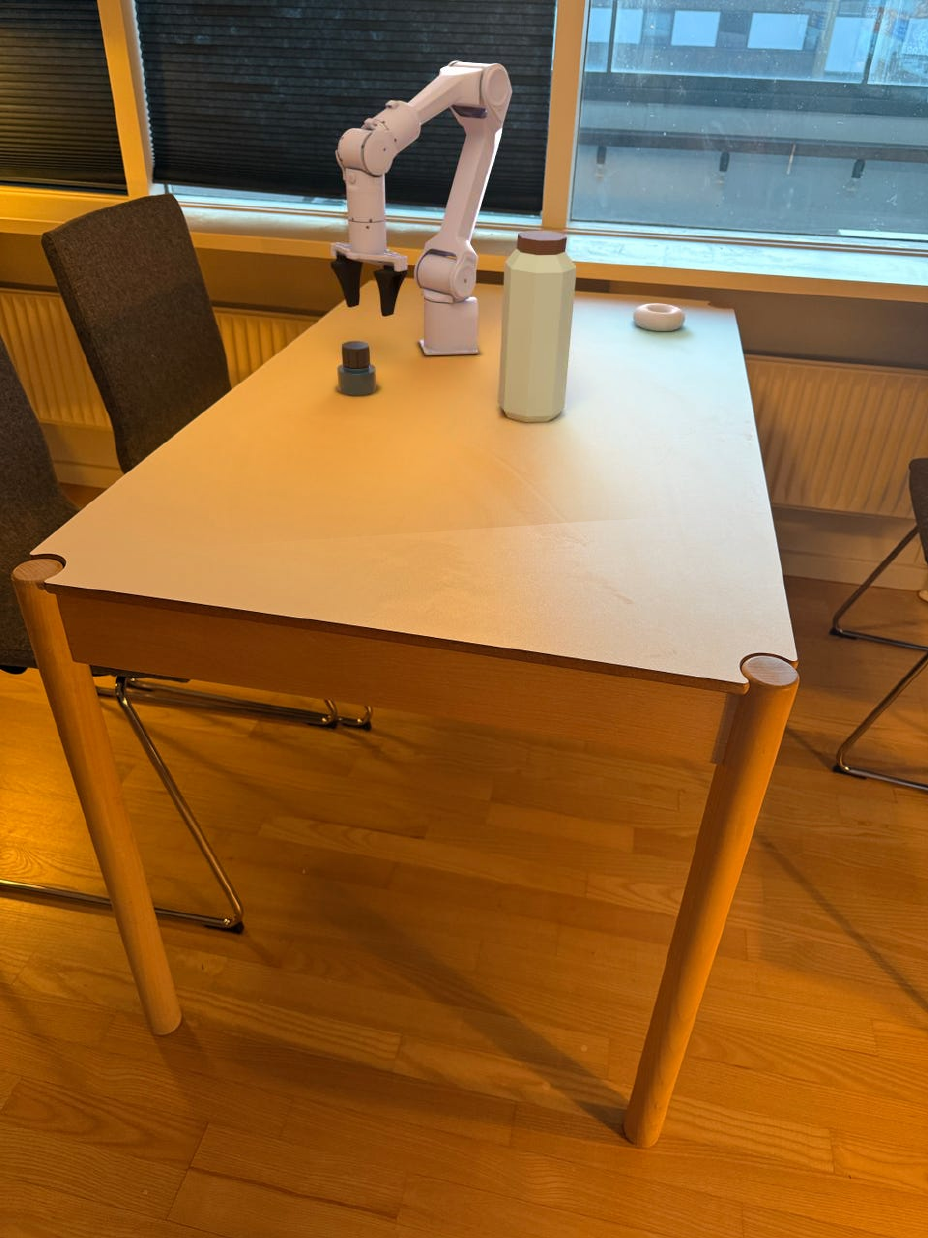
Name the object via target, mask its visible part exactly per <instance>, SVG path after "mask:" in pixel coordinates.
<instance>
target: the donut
mask: <svg viewBox="0 0 928 1238" xmlns="http://www.w3.org/2000/svg"><path fill="white" fill-rule="evenodd" d="M632 319H633V321H634V323H635V325H636V326H638V327H640V328H641V329H644V330H647V331H648V330H649V331H654V332H670V331H671V332H672V331H675V330H678V329H680V328H682V326H683V325H684V323H685V320H686V316H685V313H684V311H683V310H682V309H680V308H679V307H677V306H674V305H671V304H665V303H646V304H641V305H639V306H638V307H636V309H635V310H634V311H633V313H632Z"/></svg>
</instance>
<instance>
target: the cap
mask: <svg viewBox="0 0 928 1238" xmlns="http://www.w3.org/2000/svg"><path fill="white" fill-rule="evenodd" d="M370 351H371V349H370V344H369V343H368V342H365V341H361V340H350V341H346V342H343V343H342V344H341V359H342V360H341V361H342V362H341V363H342V364H343V366H346V367H349V368H363V367H367V366H368V365H370V364H371V352H370Z"/></svg>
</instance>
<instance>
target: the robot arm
mask: <svg viewBox="0 0 928 1238" xmlns="http://www.w3.org/2000/svg"><path fill="white" fill-rule="evenodd" d="M512 94H513V87H512V85H511V81H510V77H509V73H508V72H507V69H506V68H505V67H504V65H502V64H501V63H497V62H496V63H481V62H479V63H478V62H463V61H461V60H453V61H450V62H449V63H448V65H446V66H443V67H442V68H440V70H439V72H438V76H436V78H435V79H433V80H432V81H431V82H430V83H429V84H427V86H425V88H423V89H422V90H421V91H420V92H418V93H417V94H416V95H415V96H414V97H413V98H412V99H411V100H409V101H408V102H406V101H403V100H389V101H387V102H386V103H385V107H386V108H384V109H383V110H382V111H380V112H379V113H378V114H377V115H375V116H374V117H373V118H370V117H368V118H367V119H366V120H364V122H363V123H364V124H363V125H362V126H361V127H360V128H354V127H353V128H349V129H347V130H346V131H345V132H344V133H343V135H341V137H340V139H339V141H338V146H337V149H336V150H335V158H336V161H337V163H338V165H339V167H340V169H341V170H342V179H343V181H344V183H345V188H346V190H345V191H346V208H347V224H348V226H347V228H348V242H342V241H337V242H332V243H330V256H331V257H332V258H335V260H333V261H330V268H331V269H332V271H333V272H334V275H335V276H336V279H337V280H338V282H339V284H340V287H341V290H342V293H343V296H344V300H345V303H346V306H347V307H346V308H350V309H351V308H353V307H357V306H360V302H361V301H360V300H361V276H362V275H361V274H362V269H363V265H364V263H366V264H369V265H374V266H378V267H382V268H381V269H376V270H373V276H374V278H375V281H376V285H377V288H378V289H377V290H378V295H379V304H380V305H379V306H380V313H381V317H385V318H386V317H389V316H393V315H394V314H395V309H396V304H397V300H398V296H399V292H400V290H401V287H402V285H403V283H404V281H405V279H406V277H407V275H408V256H407V255H404V254H402V253H401V254H400V253H398V252H396V251H393V250H391V249H389V248H387V220H386V218H387V217H386V183H385V182H386V181H385V179H386V178H385V174H387V173H388V172H389V170H390V168H391V167H392V164H393V162H394V161H393V160H394V158H395V157H396V156H397V155H398V154H399V153H401V151H403V150H404V149H405V148H407V147H408V146H409V145H410V144H413V142H414V141H416V140H417V139H418V138H419V136H420V134H421V130H422V129H421V127H422V125H424V124H425V123H427V122H428V121H430V120H431V119H433V118H434V117H436V116H437V115H439V114H440V113H441V112H443V111H445V110H446V109H448V108H449V109H450V111H451V112H452V113H453V115H454V116H455V118H456V120H457V122H458V123H459V125H460V126H462V127H463V129H464V132H465V135H466V136H465V140H464V143H463V145H462V150H461V153H460V157H459V160H458V164H457V168H456V171H455V175H454V178H453V182H452V186H451V189H450V192H449V196H448V200H447V203H446V207H445V209H444V214H443V218H442V221H441V225H440V229H439V232H438V233H437V234H436V235H434V236H432V237H431V238H430V239H429V240H427V241H426V242H425V244H424V247H423V250H422V252H421V255H420V256H419V257H418V258H417V260H416V262H415V265H414V269H413V278H414V282H415V284H416V286H417V287H418V289H420V295H421V296H423V338H422V339H419V341H418V342H419V344H420V347H421V349H422V352H423V354H424V355H425V356H445V355H446V356H450V355H475V354H476V355H477V354H479V350H478V348H479V347H478V346H479V314H480V313H479V304H478V299H477V297H475V296H470V295H472V293H473V291H474V289H475V286H476V282H477V267H478V262H479V260H480V259H479V256H478V254H477V253H476V251H475V250H474V248H473V247H472V245H471V240H472V237H473V233H474V231H475V228H476V227H475V226H476V223H477V220H478V216H479V213H480V210H481V207H482V202H483V199H484V196H485V193H486V189H487V186H488V182H489V178H490V174H491V171H492V167H493V165H494V162H495V157H496V154H497V151H498V148H499V143H500V140H501V137H502V131H503V125H504V122H505V119H506V115H507V111H508V109H509V104H510V102H511V98H512Z"/></svg>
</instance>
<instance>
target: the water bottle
mask: <svg viewBox="0 0 928 1238" xmlns="http://www.w3.org/2000/svg"><path fill="white" fill-rule="evenodd" d="M567 242H568V236H567V235H565V234H564V233H562V232H557V231H549V230H526V231H523V232H520V233H518V234H517V240H516V249H515V250H514V251H512V253H511V254H510V255H509V257H508V258H506V260H505V261H504V266H503V286H502V287H503V289H502V309H501V311H502V312H501V314H502V315H501V331H500V332H501V333H500V334H501V335H500V337H501V338H500V354H499V356H500V357H499V376H498V393H497V394H498V395H497V397H498V399H497V402H498V404H499V405H500V407H501V409H502V411H503V412H504V413H505V416H506V417H507V418H508V419H510V420H515V421H519V422H523V423H525V424H526V423H527V424H528V423H530V424H531V423H545V422H546V423H547V422H549V421H551V420H553V419H554V418H556V417H557V416H558V415H560V413H561V412H562V411H563V410H564V408H565V403H566V402H565V401H566V391H567V381H568V369H569V359H570V358H569V357H570V348H571V347H570V346H571V338H572V337H571V335H572V326H573V325H572V324H573V314H574V304H575V303H574V302H575V292H576V281H577V272H578V271H577V270H578V269H577V268H578V266H577V265H576V264H575V263H574V262H573V260H572V259H571V257H570V256H569V255H568V253H567V252H566V249H567Z"/></svg>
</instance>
